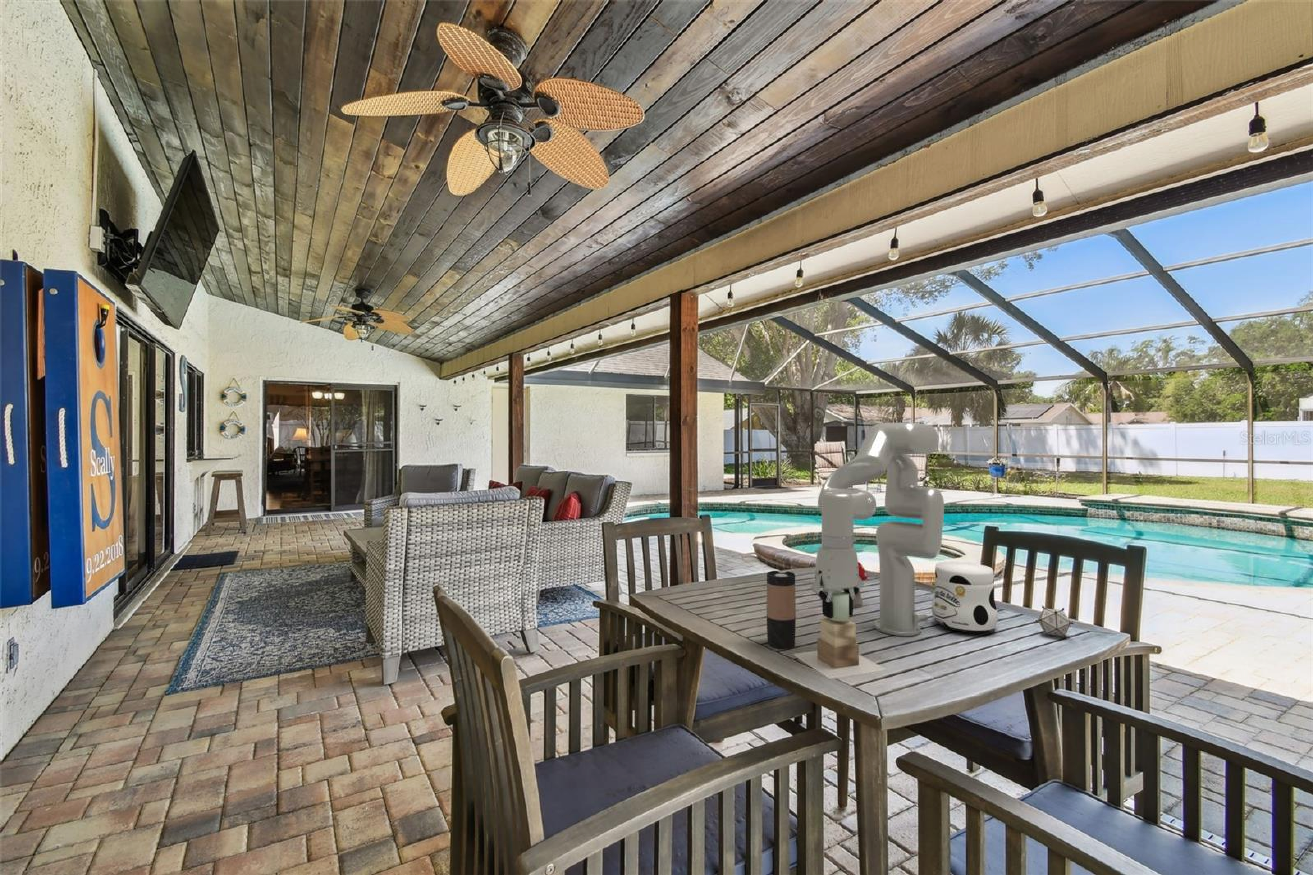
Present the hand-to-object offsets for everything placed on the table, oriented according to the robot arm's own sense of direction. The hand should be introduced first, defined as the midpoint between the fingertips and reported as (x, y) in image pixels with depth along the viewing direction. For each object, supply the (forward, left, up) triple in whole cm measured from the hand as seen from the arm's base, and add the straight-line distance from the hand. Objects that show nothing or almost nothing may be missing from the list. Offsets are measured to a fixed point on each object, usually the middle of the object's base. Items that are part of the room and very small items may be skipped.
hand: (837, 614), depth 142 cm
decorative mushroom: (-37, -42, -13) cm, 57 cm away
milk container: (-53, -12, -13) cm, 56 cm away
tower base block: (0, 0, -12) cm, 12 cm away
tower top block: (0, 0, -7) cm, 7 cm away
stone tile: (0, 0, -13) cm, 13 cm away
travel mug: (+7, -15, -13) cm, 21 cm away
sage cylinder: (0, 0, -1) cm, 1 cm away
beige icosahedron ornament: (-71, +2, -13) cm, 72 cm away
